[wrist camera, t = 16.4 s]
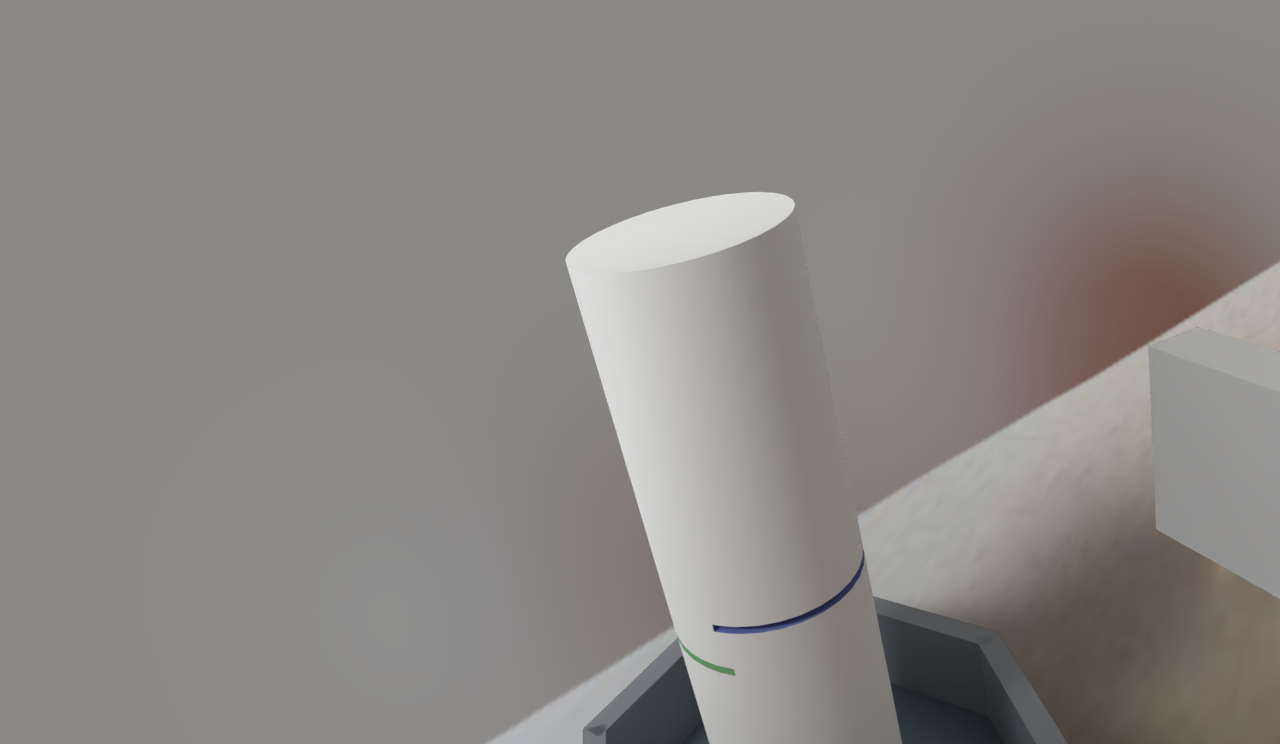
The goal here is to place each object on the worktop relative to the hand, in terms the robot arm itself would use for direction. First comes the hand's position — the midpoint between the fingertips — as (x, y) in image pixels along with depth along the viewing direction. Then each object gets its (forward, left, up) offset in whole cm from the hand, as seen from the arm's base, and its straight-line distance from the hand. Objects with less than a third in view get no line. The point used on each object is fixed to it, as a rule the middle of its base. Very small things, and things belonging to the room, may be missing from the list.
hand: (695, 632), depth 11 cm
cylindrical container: (+1, +19, -25) cm, 32 cm away
